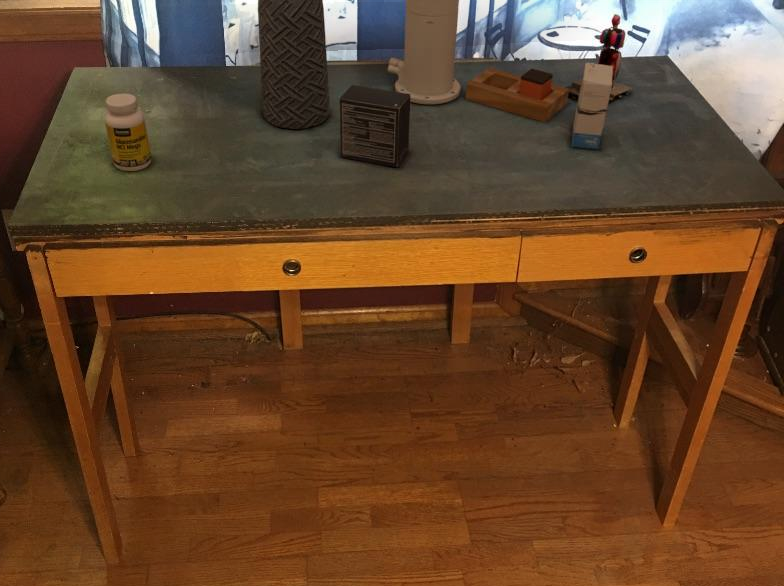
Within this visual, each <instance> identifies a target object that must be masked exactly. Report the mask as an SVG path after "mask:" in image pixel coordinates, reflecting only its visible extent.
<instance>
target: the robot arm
mask: <svg viewBox="0 0 784 586" xmlns="http://www.w3.org/2000/svg"><path fill="white" fill-rule="evenodd" d="M459 5H460V0H405V21H404V22H405V24H404V25H405V26H404V52H403V60H401V59H399V58H396V57H390V59H389V60H388V66H387V72H388V73H389V74H395V75H397V80H396V81H395V83H394V92H400V93H406V94H410V95H411V97H410V103H414V104H420V105H441V104H446V103H449V102H451V101H454V100H456V99H457V98H458V97H459V96H460V94H461V88H462V87H461V83H460V82H459V81H458V80H457V79H455V78H454V72H455V60H456V59H455V58H456V47H457V34H458V21H459V20H458V19H459Z"/></svg>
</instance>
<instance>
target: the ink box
mask: <svg viewBox="0 0 784 586" xmlns="http://www.w3.org/2000/svg"><path fill="white" fill-rule="evenodd" d="M582 73H583V74H582V79H581V80H582V83H581V88H580V93H579V97H577V98H578V99H577V104H576V108H575V114H574V120H573V126H572V135H571V147H572V148H578V149H579V148H580V149H590V150H599V148H600V144H601V140H602V134H603V129H604V125H605V121H606V116H607V111H608V106H609V97H610V92H611V87H612V74H613V66H608V65H601V64H598V63H593V62H586V63H585V64H584V67H583V72H582Z"/></svg>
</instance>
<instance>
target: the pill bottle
mask: <svg viewBox="0 0 784 586" xmlns="http://www.w3.org/2000/svg"><path fill="white" fill-rule="evenodd" d="M105 105H106V110H107V112H106V114H105V116H104V123H105V128H106V133H107V139H108V143H109V148H110V153H111V157H112V162H113V165H114V167H115V168H117V169H118V170H121V171H123V172H135V171H136V172H137V171H140V170H144V169H146V168H148V167H149V166H150V164H151V163H152V154H151V148H150V143H149V137H148V131H147V126H146V120H145V115H144V113H143V112H142V111H141V110H140V109H139V108H138V101H137V97H136V96H135V95H133V94H131V93H115V94H112V95H110V96H108V97H107V98H106V99H105Z"/></svg>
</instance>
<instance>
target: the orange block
mask: <svg viewBox="0 0 784 586" xmlns="http://www.w3.org/2000/svg"><path fill="white" fill-rule="evenodd" d="M520 76H521V81H520V89H519V94H522V95H526V96H529V97H533V98H536V99H540V100H543V99H545V98H546V97H547V96H548V95H550V90H551V84H553V77H554V74H553V73H550V72H547V71H542V70H539V69H536V68H530V69H528V71H526V72H525V73H524V74H522V75H520Z"/></svg>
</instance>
